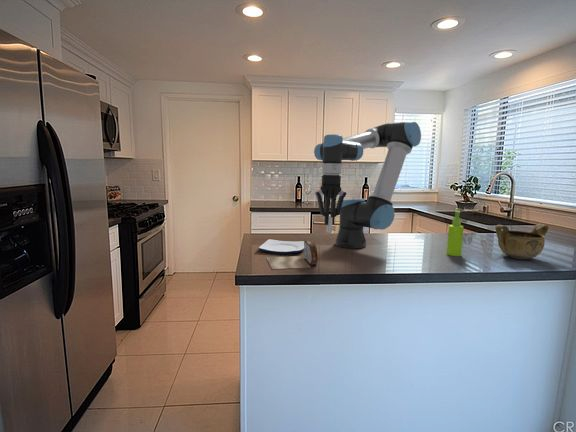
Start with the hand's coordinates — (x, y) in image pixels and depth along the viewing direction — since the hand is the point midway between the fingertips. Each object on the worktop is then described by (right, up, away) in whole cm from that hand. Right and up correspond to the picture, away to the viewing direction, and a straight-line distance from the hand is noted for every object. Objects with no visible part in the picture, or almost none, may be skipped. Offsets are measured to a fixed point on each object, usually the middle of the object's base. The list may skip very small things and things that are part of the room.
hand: (328, 232), depth 136 cm
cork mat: (-17, -12, -2) cm, 21 cm away
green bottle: (+59, -11, +16) cm, 62 cm away
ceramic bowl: (+85, -12, +11) cm, 87 cm away
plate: (-19, -9, +20) cm, 29 cm away
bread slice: (-8, -12, 0) cm, 14 cm away
